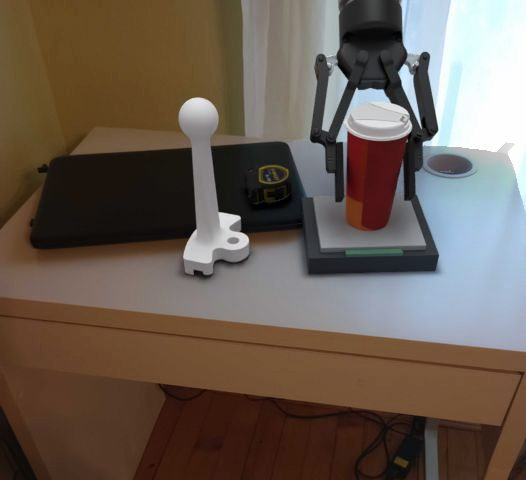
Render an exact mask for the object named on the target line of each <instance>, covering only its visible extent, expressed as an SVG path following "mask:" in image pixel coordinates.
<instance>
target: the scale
mask: <svg viewBox="0 0 526 480" xmlns="http://www.w3.org/2000/svg"><path fill="white" fill-rule="evenodd" d="M301 205H302V209H301V208H300V215H301V216H300V217H301V222H302V224H301V225H302V232H303V233H302V234H303V240H304V249H305V258H306V266H307V273H308V275H309V274H310V275H311V274H345V273H346V274H348V273H349V274H351V273H385V272H386V273H388V272H389V273H390V272H391V273H392V272H425V271H426V272H427V271H436V270H437V266H438V263H439V258H440V254H439V250H438V248H437V245H436V242H435V239H434V236H433V234H432V232H431V229H430V227H429V223H428V221H427V219H426V216H425V212H424V210H423V207H422V204H421V202H420V199H419V197H418V194H416V196H415V197H414V198H413V199H412V200H411V201H404V193H395V197H394V201H393V206H392V210H391V215H390V218H389V222H388V224H387V225H386V226H385V227H384V228H382V229H379V230H375V231H363V230H359V229H356V228H354V227H352V226H351V225H349V224H348V222H347V220H346V194H344V199H343V200H342V202H335V195H313V196H310V197H304V196H303V197H301V201H300V206H301ZM302 212H303V217H302Z"/></svg>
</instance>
